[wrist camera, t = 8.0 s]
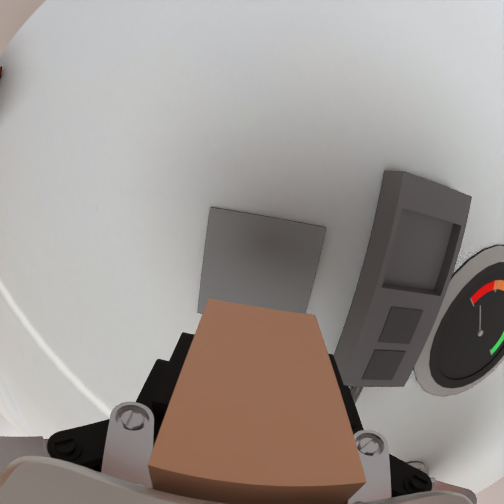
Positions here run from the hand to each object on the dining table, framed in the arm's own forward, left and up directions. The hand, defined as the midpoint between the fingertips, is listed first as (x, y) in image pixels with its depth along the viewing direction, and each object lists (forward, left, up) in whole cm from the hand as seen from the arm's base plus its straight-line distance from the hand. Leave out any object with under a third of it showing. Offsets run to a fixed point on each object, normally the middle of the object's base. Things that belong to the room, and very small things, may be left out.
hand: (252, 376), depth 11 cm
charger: (0, 0, -2) cm, 2 cm away
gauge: (-27, +3, -14) cm, 30 cm away
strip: (-12, +2, -13) cm, 18 cm away
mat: (0, 0, -13) cm, 13 cm away
